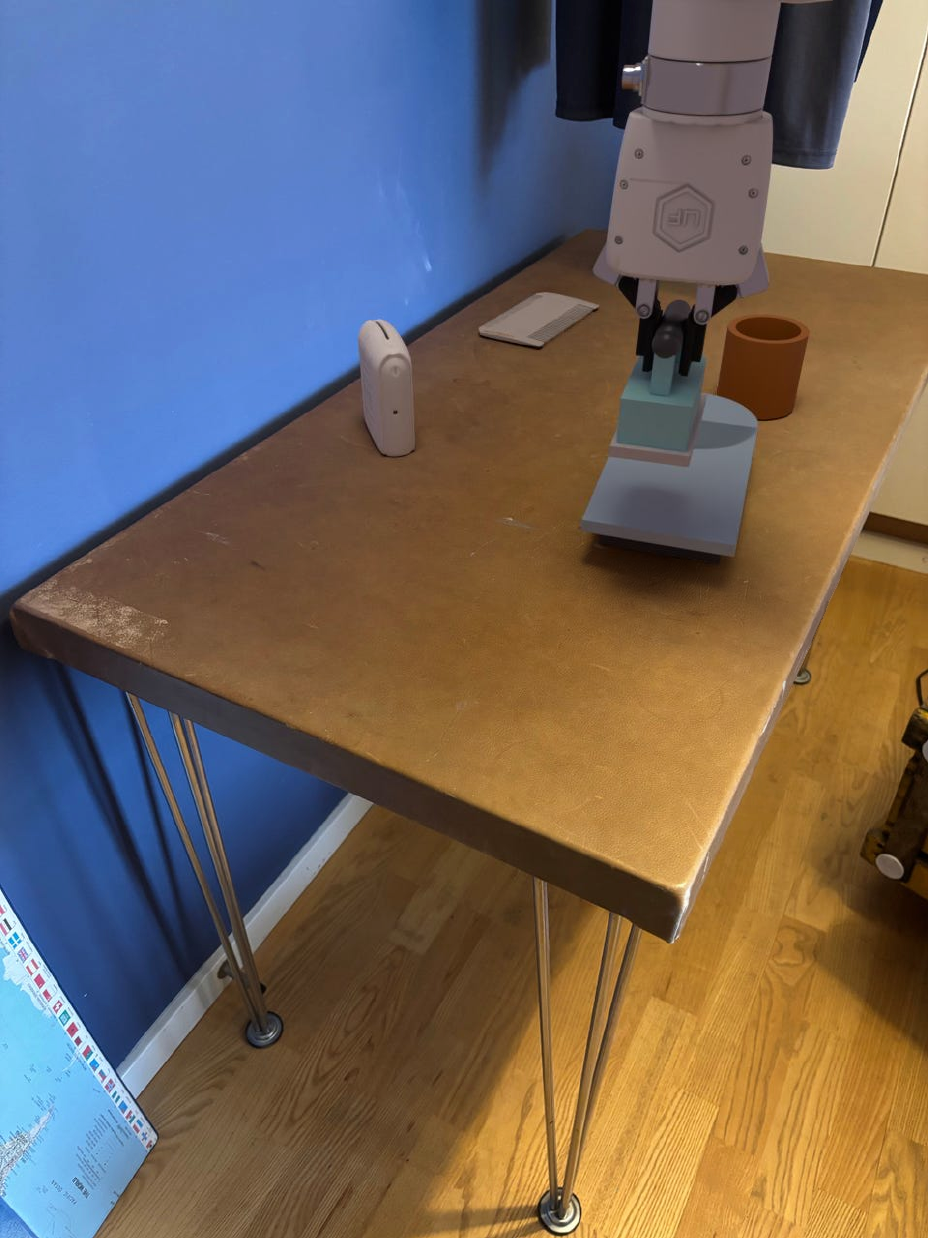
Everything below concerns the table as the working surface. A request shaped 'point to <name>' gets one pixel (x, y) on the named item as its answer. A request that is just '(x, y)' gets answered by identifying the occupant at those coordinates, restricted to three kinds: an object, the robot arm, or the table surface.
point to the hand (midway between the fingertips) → (667, 365)
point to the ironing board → (680, 492)
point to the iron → (662, 400)
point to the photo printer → (387, 387)
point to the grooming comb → (537, 319)
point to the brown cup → (763, 363)
